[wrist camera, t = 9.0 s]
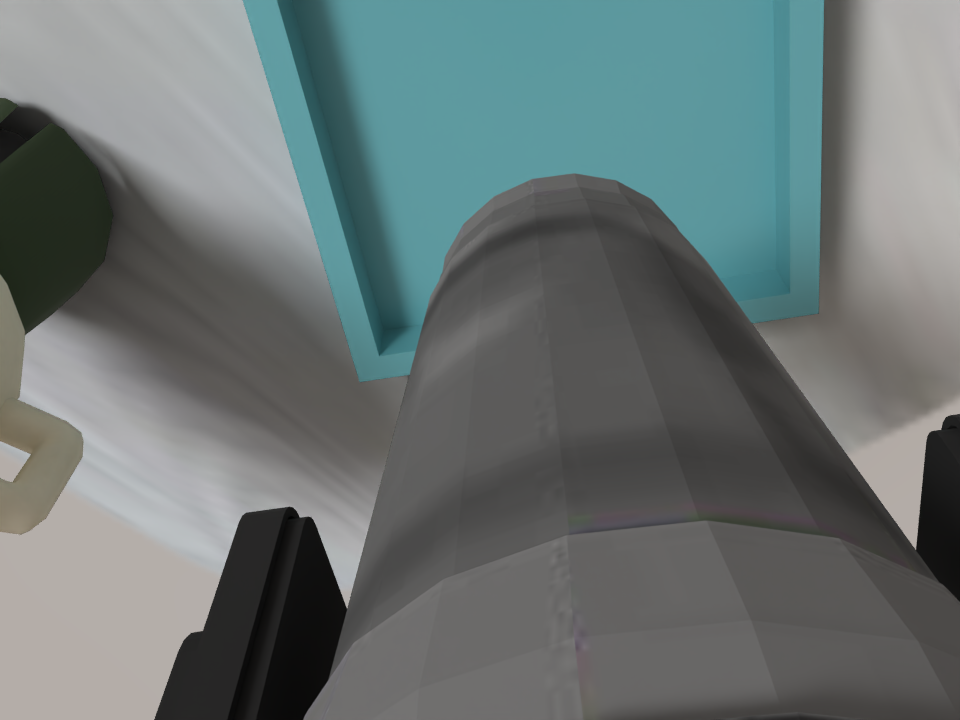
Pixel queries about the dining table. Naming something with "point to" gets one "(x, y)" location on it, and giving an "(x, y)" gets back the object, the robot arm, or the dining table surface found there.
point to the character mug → (41, 297)
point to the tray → (545, 134)
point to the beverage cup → (623, 502)
